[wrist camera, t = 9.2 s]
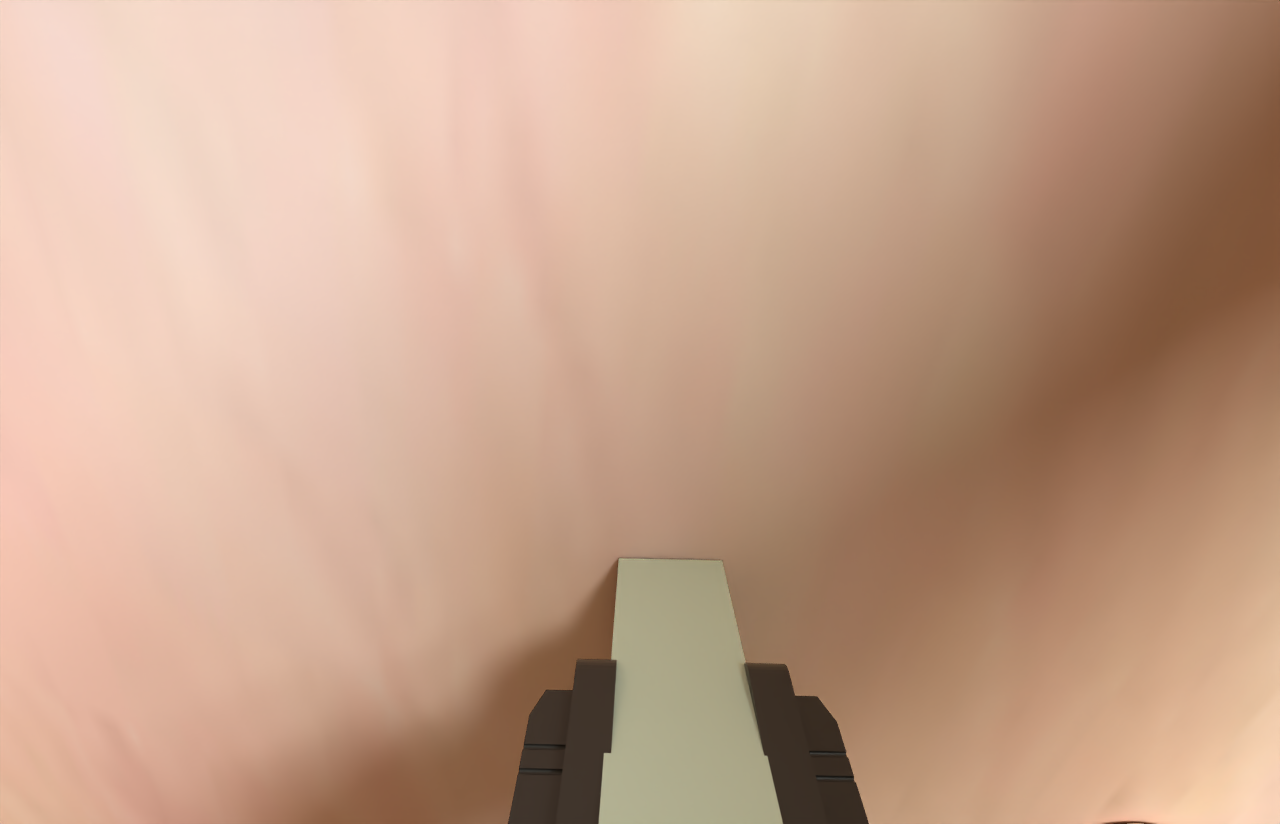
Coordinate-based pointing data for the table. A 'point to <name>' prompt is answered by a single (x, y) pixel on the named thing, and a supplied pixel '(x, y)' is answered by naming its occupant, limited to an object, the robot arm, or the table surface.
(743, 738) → the rake
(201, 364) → the table surface
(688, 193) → the table surface
